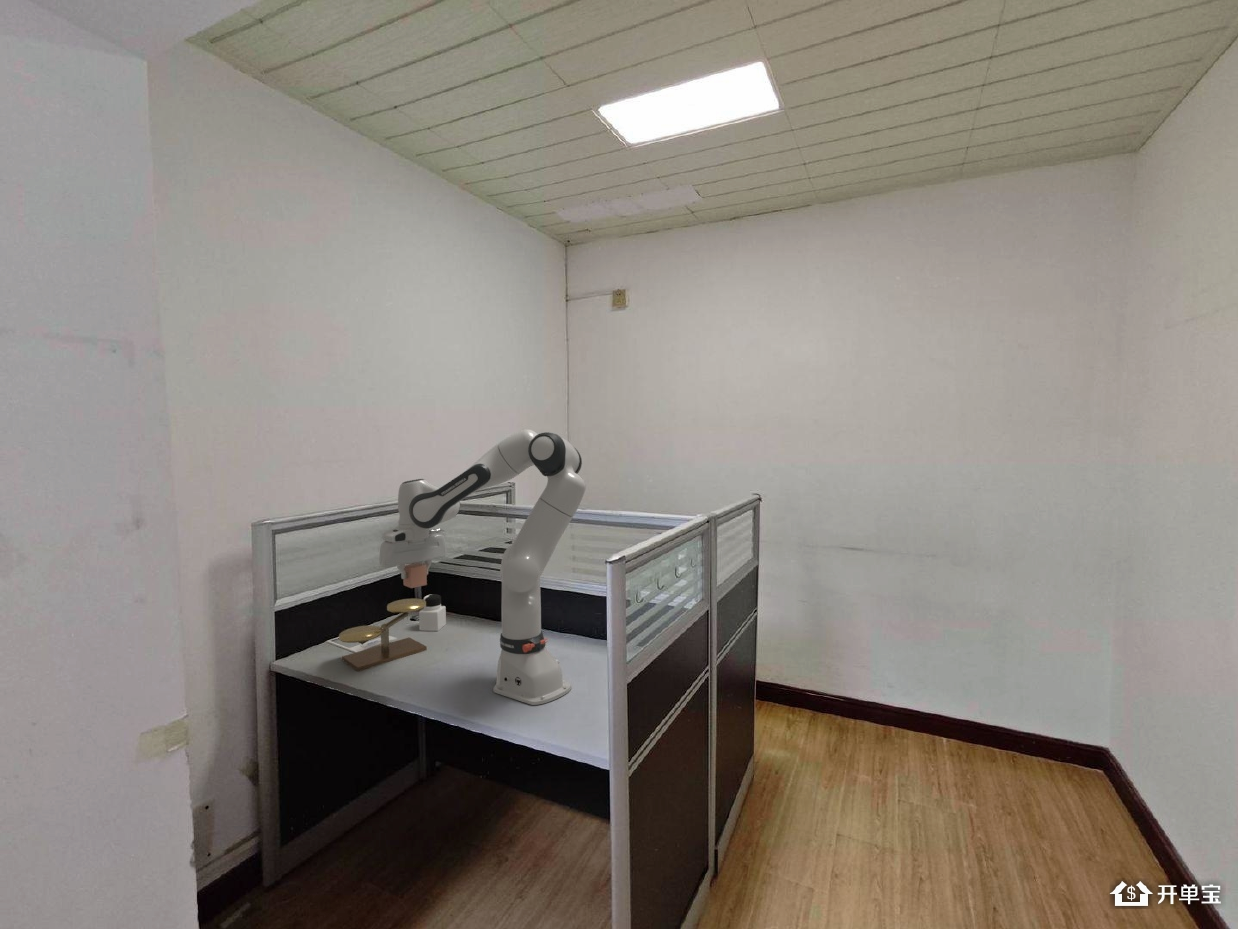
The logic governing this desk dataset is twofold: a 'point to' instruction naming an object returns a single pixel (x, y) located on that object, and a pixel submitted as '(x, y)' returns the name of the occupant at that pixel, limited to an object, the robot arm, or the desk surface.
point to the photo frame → (362, 646)
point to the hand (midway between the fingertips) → (415, 576)
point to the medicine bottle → (432, 614)
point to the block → (415, 575)
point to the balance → (383, 638)
